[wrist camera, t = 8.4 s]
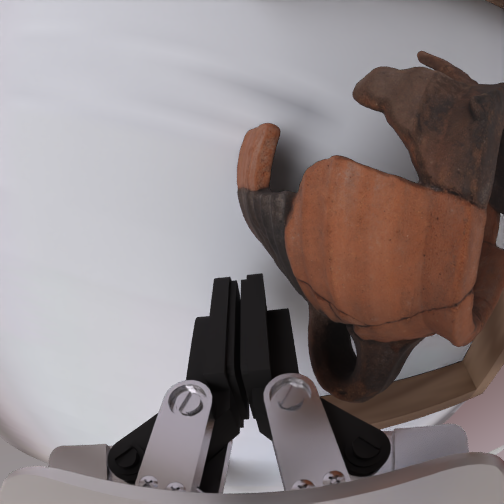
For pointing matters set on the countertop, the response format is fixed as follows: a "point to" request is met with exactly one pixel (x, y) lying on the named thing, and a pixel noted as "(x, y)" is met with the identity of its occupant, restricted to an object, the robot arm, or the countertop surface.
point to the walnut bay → (438, 377)
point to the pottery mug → (390, 227)
